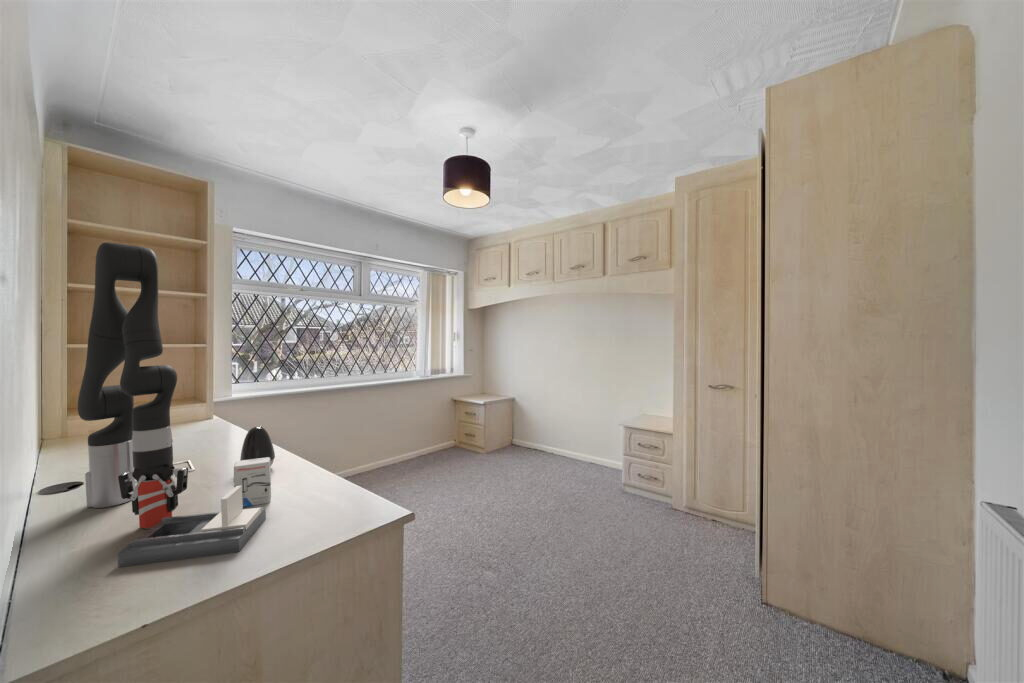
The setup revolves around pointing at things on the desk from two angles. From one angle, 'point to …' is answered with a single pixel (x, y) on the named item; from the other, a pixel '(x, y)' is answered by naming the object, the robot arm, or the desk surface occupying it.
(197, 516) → the socket plate
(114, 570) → the desk surface
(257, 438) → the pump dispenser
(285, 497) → the desk surface
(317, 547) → the desk surface
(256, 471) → the ink box
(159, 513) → the beverage can
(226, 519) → the t-shaped bracket
